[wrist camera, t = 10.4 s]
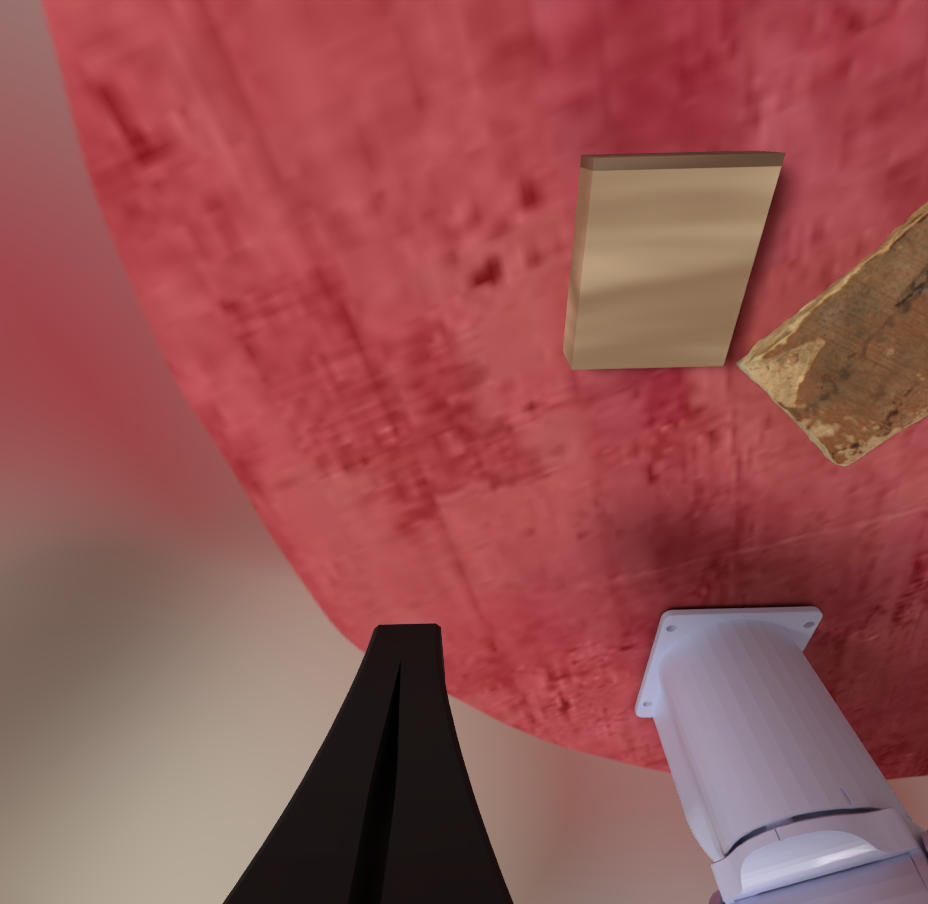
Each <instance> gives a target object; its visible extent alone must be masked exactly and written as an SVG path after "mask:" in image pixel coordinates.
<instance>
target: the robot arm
mask: <svg viewBox="0 0 928 904" xmlns="http://www.w3.org/2000/svg"><path fill="white" fill-rule="evenodd" d="M822 616H823V615H822V613H821V611H820V610H819V609H818V608H817V607H813V606H805V607H766V608H726V609H687V610H669V611H666V612H665V613H663V615H662V616H661V619H660V623H659V626H658V630H657V633H656V636H655V640H654V643H653V647H652V650H651V653H650V657H649V660H648V664H647V667H646V671H645V674H644V677H643V681H642V684H641V688H640V691H639V694H638V698H637V701H636V705H635V712H636V715H637V716H639V717H653V719H654V722H655V725H656V728H657V731H658V734H659V737H660V740H661V743H662V746H663V749H664V752H665V755H666V758H667V761H668V764H669V767H670V770H671V773H672V776H673V779H674V782H675V785H676V788H677V791H678V795H679V798H680V801H681V804H682V807H683V810H684V813H685V816H686V819H687V821H688V824H689V826H690V828H691V831H692V833H693V835H694V836H695V838H696V839H697V841H698V843H699V844H700V846H701V847H702V848H703V850H704V851H705V852H706V853H707V854H708V856H709V857H710V858H711V859H712V860H713V861H714V862H713V863H712V864H711V867H712V870H713V873H714V876H715V879H716V882H717V885H718V888H719V890H717V891H716V892H715V893H713V894H712V896H711V898H710V901H709V904H928V830H926V831H925V830H924V829H923V828H921V827H920V826H919V825H917V824H916V823H915V822H913V820H912V819H911V817H910V816H909V814H908V813H907V811H906V810H905V808H904V806H903V805H902V803H901V802H900V800H899V799H898V797H897V796H896V794H895V793H894V791H893V790H892V788H891V787H890V785H889V784H888V782H887V781H886V779H885V777H884V776H883V774H882V773H881V771H880V770H879V768H878V767H877V765H876V764H875V762H874V761H873V759H872V758H871V756H870V755H869V753H868V752H867V750H866V749H865V747H864V745H863V744H862V742H861V741H860V739H859V738H858V736H857V735H856V733H855V732H854V730H853V729H852V727H851V726H850V724H849V723H848V721H847V720H846V718H845V717H844V715H843V714H842V712H841V710H840V709H839V707H838V706H837V704H836V703H835V701H834V700H833V698H832V697H831V695H830V694H829V692H828V691H827V689H826V688H825V686H824V685H823V683H822V682H821V680H820V678H819V677H818V675H817V674H816V672H815V671H814V669H813V668H812V666H811V665H810V663H809V662H808V660H807V659H806V657H805V656H804V654H803V653H802V652H803V650H804V649H805V647H806V645H807V643H808V642H809V640H810V638H811V636H812V635H813V633H814V631H815V629H816V628H817V626H818V624H819V622H820V621H821V619H822ZM223 904H513V901H512V899H511V896H510V894H509V891H508V889H507V886H506V884H505V881H504V879H503V876H502V873H501V870H500V868H499V865H498V862H497V859H496V857H495V854H494V851H493V848H492V846H491V843H490V840H489V837H488V834H487V832H486V829H485V826H484V823H483V820H482V817H481V814H480V811H479V808H478V805H477V802H476V799H475V796H474V793H473V790H472V786H471V783H470V780H469V777H468V773H467V770H466V767H465V763H464V760H463V757H462V753H461V749H460V745H459V742H458V738H457V734H456V730H455V726H454V722H453V717H452V713H451V709H450V705H449V700H448V695H447V690H446V684H445V670H444V659H443V647H442V636H441V627H440V626H438V625H437V624H396V625H378V626H377V627H376V628H375V629H374V631H373V634H372V637H371V640H370V643H369V645H368V648H367V651H366V653H365V656H364V658H363V660H362V663H361V665H360V668H359V670H358V672H357V675H356V677H355V679H354V681H353V683H352V686H351V688H350V690H349V692H348V694H347V696H346V698H345V700H344V702H343V704H342V706H341V708H340V711H339V712H338V714H337V717H336V719H335V720H334V723H333V725H332V727H331V729H330V730H329V733H328V734H327V736H326V738H325V740H324V742H323V744H322V745H321V747H320V749H319V751H318V753H317V754H316V756H315V758H314V760H313V762H312V763H311V765H310V767H309V769H308V771H307V772H306V774H305V776H304V778H303V780H302V782H301V783H300V785H299V787H298V788H297V790H296V792H295V793H294V795H293V797H292V798H291V800H290V802H289V803H288V805H287V807H286V808H285V810H284V812H283V813H282V815H281V816H280V818H279V820H278V821H277V823H276V824H275V826H274V828H273V829H272V831H271V832H270V834H269V835H268V837H267V839H266V840H265V842H264V843H263V845H262V846H261V848H260V849H259V851H258V852H257V854H256V855H255V857H254V858H253V860H252V861H251V863H250V864H249V866H248V867H247V869H246V870H245V872H244V873H243V875H242V876H241V878H240V879H239V880H238V882H237V884H236V885H235V887H234V888H233V890H232V891H231V892H230V894H229V895H228V896H227V898H226V899H225V901H224V903H223Z"/></svg>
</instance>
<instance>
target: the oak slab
mask: <svg viewBox="0 0 928 904" xmlns="http://www.w3.org/2000/svg"><path fill="white" fill-rule="evenodd" d="M784 156H785V153H779V152H766V151H721V152H681V153H642V154H603V155H581V165H580V175H579V186H578V196H577V207H576V218H575V228H574V239H573V250H572V260H571V271H570V282H569V292H568V303H567V313H566V324H565V335H564V345H563V352H564V354H565V357H566V359H567V361H568V363H569V365H570V367H571V369H572V370H581V369H623V368H665V367H707V366H724V363H725V359H726V356H727V352H728V349H729V345H730V342H731V338H732V335H733V332H734V328H735V325H736V321H737V318H738V314H739V311H740V307H741V304H742V301H743V297H744V294H745V290H746V287H747V283H748V280H749V276H750V273H751V270H752V266H753V263H754V259H755V256H756V252H757V249H758V245H759V242H760V239H761V235H762V232H763V228H764V225H765V221H766V218H767V215H768V211H769V208H770V204H771V201H772V197H773V194H774V190H775V187H776V184H777V180H778V177H779V173H780V170H781V166H782V163H783V159H784Z"/></svg>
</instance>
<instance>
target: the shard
mask: <svg viewBox="0 0 928 904" xmlns="http://www.w3.org/2000/svg"><path fill="white" fill-rule="evenodd" d="M736 365H737V366H738V367H739V368H740V369H741V370H742V371H743V372H744V373H745V374H746V375H748V376H749V377H750V378H751V380H752V381H754V382H756V383H758V384H759V385H760V386H761V387H762V388H763V389H764V390H765V391H766V392H767V393H768V394H769V395H770V397H771V398H772V399H773V401H774V402H775V403H776V404H777V405H778V406H779V407H780V408H782V409H783V410H784V411H785V412H786V414H788V415H789V416H790V417H791V418H792V419H793V420H794V421H795V422H796V423H797V425H798V426H799V427H801V428H802V430H803V431H805V432H806V434H807V435H808V437H809V438H810V440H811V441H812V442H813V443H815V444H816V445H817V446H818V448H819V449H820V450H821V451H822V453H823V454H824V456H825V457H827V458H828V459H829V460H830V461H831V462H833V463H834V464H836V465H841V466H847V465H849V464H851V463H853V462H854V461H856V460H858V459H859V458H861V457H862V456H864V455H865V454H867V453H868V452H869V451H871V450H872V449H874V448H875V447H877V446H878V445H879V444H881V443H883V442H885V441H886V440H887V439H888V438H890V437H891V436H892V435H894V434H895V433H898V432H900V431H902V430H903V429H905V428H906V427H908V426H910V425H912V424H914V423H916V422H918V421H920V420H921V419H922V418H924V417H926V416H928V202H927V203H925V204H924V205H923V206H922V207H920V208H919V209H918V210H917V211H916V212H914V213H913V214H912V215H911V216H910V217H909V218H908V220H907V221H906V222H905V223H904V224H902V225H900V226H899V227H897V228H896V229H895V230H894V231H893V232H892V233H891V234H890V235H889V236H888V237H887V238H886V240H885V241H884V242H883V243H882V244H881V245H880V246H879V248H878V249H877V250H875V251H874V252H872V253H871V254H869V255H868V256H867V257H865V258H864V259H863V260H861V261H860V262H859V263H858V264H857V265H856V266H855V267H854V268H853V269H851V270H850V271H848V272H847V273H846V274H845V275H843V276H842V277H841V278H840V279H838V280H837V281H835V282H834V283H832V284H831V285H830V286H829V287H828V288H827V289H826V290H825V291H824V292H823V293H821V294H820V295H819V296H818V297H817V298H815V299H813V300H811V301H810V302H809V303H807V304H806V305H805V306H804V307H803V308H802V309H801V310H800V311H799V312H798V313H796V314H795V315H793V316H792V317H791V318H789V319H787V320H786V321H785V322H784V323H783V324H782V325H781V326H779V327H778V328H777V329H775V330H774V331H772V332H771V333H770V334H769V335H767V336H766V337H765V338H763V339H761V340H760V341H758V342H757V343H756V344H755V345H754V346H753V347H752V349H751V350H750V351H749V353H748V354H747V355H746V356H745V357H743V358H742V359H740V360H739V361H737V362H736Z"/></svg>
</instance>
